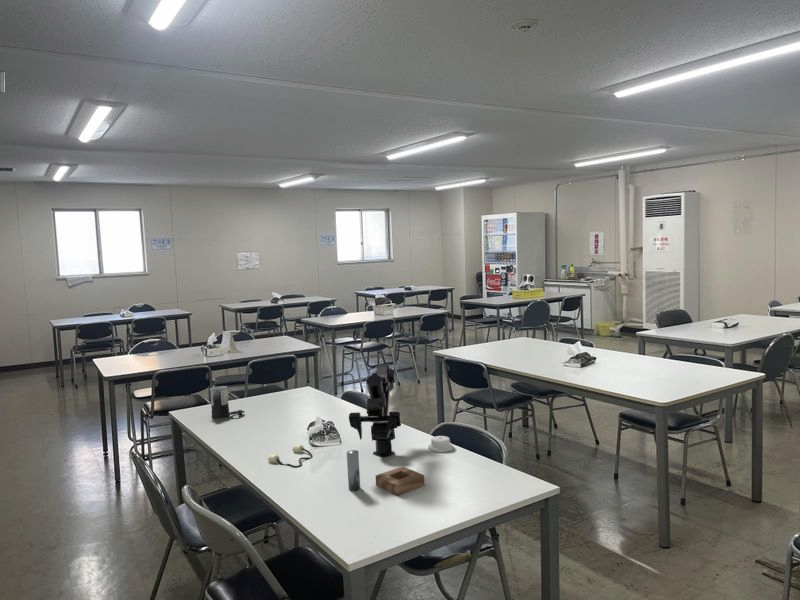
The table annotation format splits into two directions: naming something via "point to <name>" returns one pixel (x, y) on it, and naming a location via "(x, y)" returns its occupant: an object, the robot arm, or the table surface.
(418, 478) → the walnut bore block
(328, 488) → the table surface
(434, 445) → the mechanical component
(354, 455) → the steel pin
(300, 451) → the cable
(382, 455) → the robot arm
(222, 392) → the milk frother
